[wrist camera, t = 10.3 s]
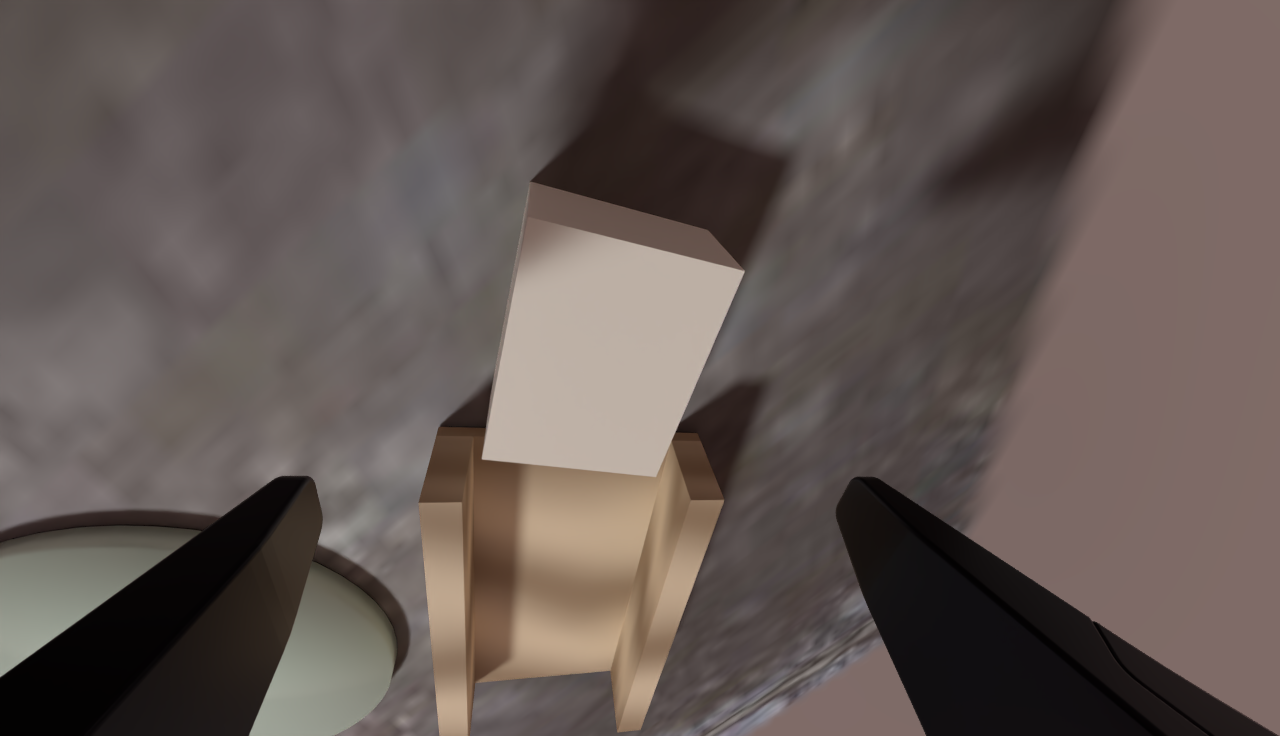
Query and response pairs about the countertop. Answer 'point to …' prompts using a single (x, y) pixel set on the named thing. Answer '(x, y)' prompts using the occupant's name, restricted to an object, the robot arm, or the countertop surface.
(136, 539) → the green plate
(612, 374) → the cream block
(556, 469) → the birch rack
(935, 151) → the countertop surface
